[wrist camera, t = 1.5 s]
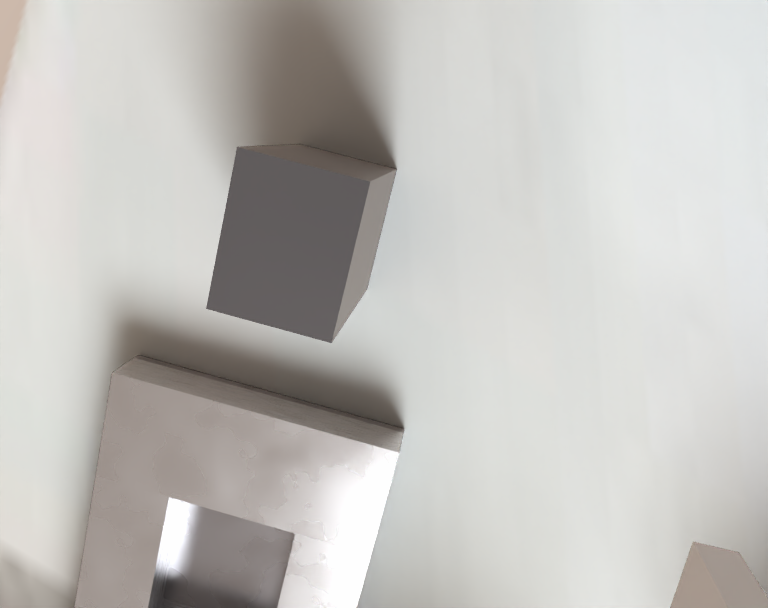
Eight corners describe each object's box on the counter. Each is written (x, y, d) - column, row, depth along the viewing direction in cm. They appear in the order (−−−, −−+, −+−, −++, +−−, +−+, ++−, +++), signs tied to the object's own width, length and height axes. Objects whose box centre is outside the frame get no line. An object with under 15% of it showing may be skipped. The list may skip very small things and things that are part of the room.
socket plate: (138, 354, 31) (104, 377, 29) (404, 429, 31) (397, 459, 28) (87, 655, 35) (53, 702, 33) (322, 726, 35) (309, 780, 32)
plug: (299, 143, 29) (237, 146, 21) (396, 169, 28) (370, 181, 21) (274, 263, 30) (206, 308, 22) (366, 288, 30) (331, 342, 22)
